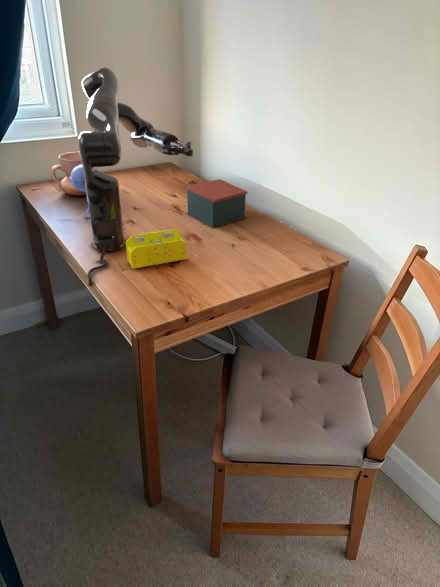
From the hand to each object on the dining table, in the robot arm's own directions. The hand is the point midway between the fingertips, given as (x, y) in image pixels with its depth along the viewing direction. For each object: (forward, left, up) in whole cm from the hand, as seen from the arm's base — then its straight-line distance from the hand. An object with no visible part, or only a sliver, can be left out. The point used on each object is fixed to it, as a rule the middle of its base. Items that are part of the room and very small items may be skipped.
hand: (190, 153), depth 160 cm
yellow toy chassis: (-44, +18, -18) cm, 51 cm away
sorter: (-14, -6, -18) cm, 24 cm away
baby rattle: (-8, +37, -18) cm, 42 cm away
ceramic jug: (+18, +41, -18) cm, 48 cm away
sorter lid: (-14, -6, -9) cm, 18 cm away
